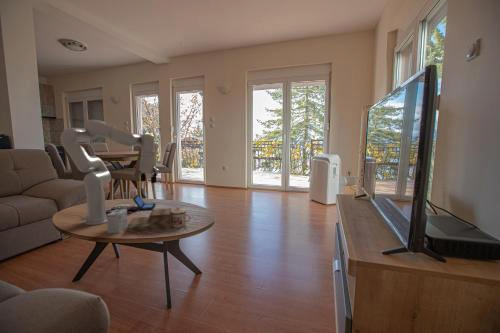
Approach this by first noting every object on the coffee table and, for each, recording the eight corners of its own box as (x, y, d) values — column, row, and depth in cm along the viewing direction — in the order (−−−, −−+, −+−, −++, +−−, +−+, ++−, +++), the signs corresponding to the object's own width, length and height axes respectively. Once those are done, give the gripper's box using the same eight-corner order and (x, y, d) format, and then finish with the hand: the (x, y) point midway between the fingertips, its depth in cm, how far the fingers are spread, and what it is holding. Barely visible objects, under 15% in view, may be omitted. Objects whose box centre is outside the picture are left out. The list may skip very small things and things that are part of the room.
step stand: (126, 235, 127) (126, 219, 126) (133, 225, 143) (132, 210, 142) (169, 232, 133) (169, 216, 132) (171, 222, 149) (171, 208, 148)
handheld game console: (152, 210, 174) (152, 198, 173) (133, 211, 171) (132, 199, 170) (156, 204, 189) (155, 193, 188) (138, 205, 186) (137, 194, 185)
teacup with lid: (168, 227, 140) (167, 208, 139) (174, 222, 149) (174, 204, 148) (187, 228, 139) (187, 209, 137) (193, 223, 148) (192, 205, 146)
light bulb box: (116, 226, 141) (115, 208, 140) (128, 226, 141) (127, 208, 140) (107, 233, 130) (105, 214, 129) (119, 233, 131) (118, 214, 130)
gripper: (133, 154, 145) (134, 181, 147) (152, 155, 137) (152, 184, 139) (144, 153, 152) (144, 179, 153) (162, 155, 143) (163, 182, 145)
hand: (148, 182), depth 146 cm, fingers open, 9 cm apart
